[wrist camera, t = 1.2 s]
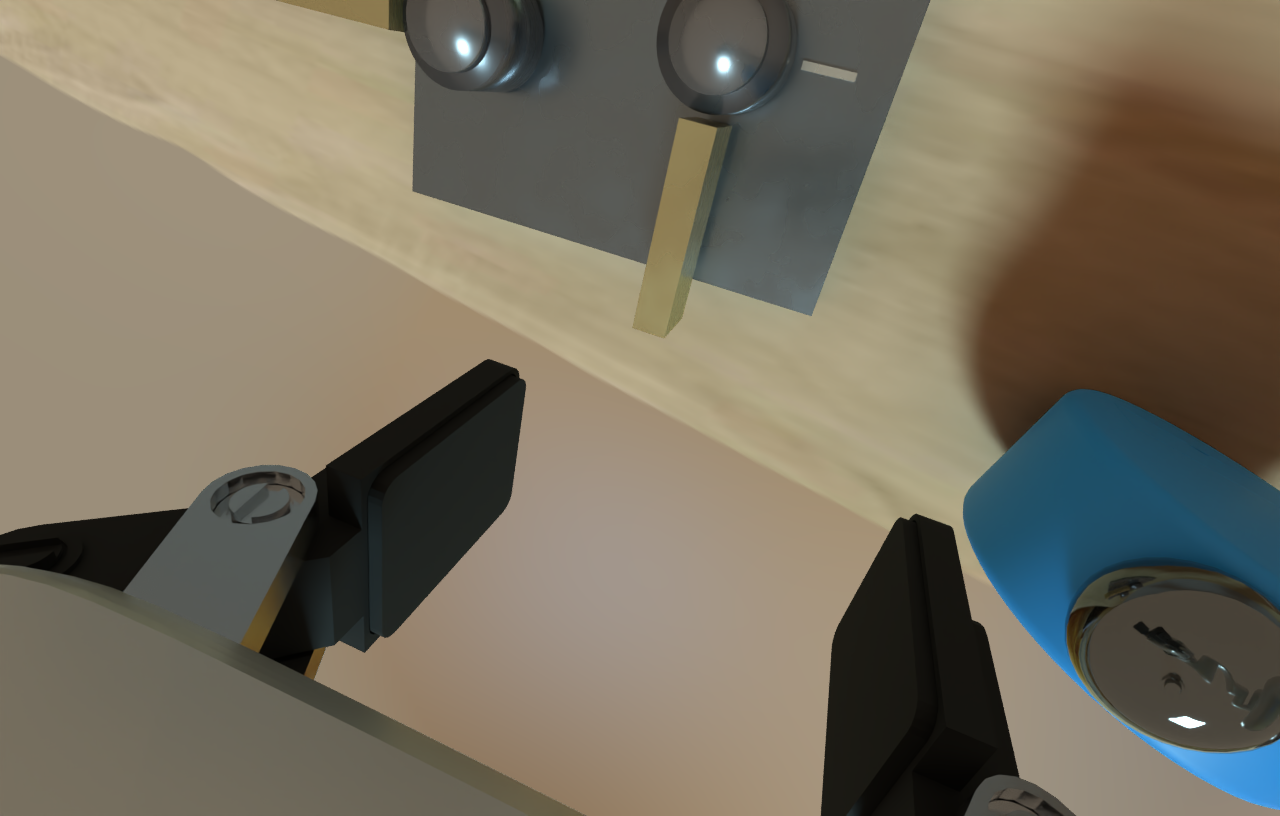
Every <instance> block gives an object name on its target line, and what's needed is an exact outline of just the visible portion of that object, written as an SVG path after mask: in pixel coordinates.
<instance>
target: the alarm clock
mask: <svg viewBox="0 0 1280 816" xmlns="http://www.w3.org/2000/svg"><path fill="white" fill-rule="evenodd" d="M963 519H964V525H965V529H966V532H967V536H968V538H969V541H970V543H971V546H972V548H973V550H974V552H975V554H976V556H977V558H978V560H979V562H980V565H981V566H982V568H983V570H984V571H985V573H986V575H987V577H988V578H989V580H990V581H991V583H992V584H993V586H994V588H995V589H996V591H997V592H998V594H999V595H1000V596H1001V598H1002V599H1003V601H1004V602H1005V603H1006V605H1007V606H1008V607H1009V609H1010V610H1011V611H1012V613H1013V614H1014V615H1015V616H1016V618H1017V619H1018V620H1019V622H1020V623H1021V624H1022V625H1023V627H1024V628H1025V629H1026V630H1027V631H1028V632H1029V634H1030V635H1031V636H1032V637H1033V638H1034V639H1035V641H1036V642H1037V643H1038V644H1039V645H1040V646H1041V647H1042V648H1043V649H1044V651H1046V653H1047V654H1048V655H1049V656H1050V657H1051V658H1052V659H1053V660H1054V661H1055V662H1056V663H1057V664H1058V665H1059V666H1060V667H1061V668H1062V670H1063V671H1065V672H1066V674H1067V675H1068V676H1069V677H1070V678H1071V679H1073V680H1074V681H1075V682H1076V683H1077V684H1078V685H1079V686H1080V687H1081V688H1082V689H1083V690H1084V691H1085V692H1086V693H1087V694H1088V695H1089V696H1090V697H1092V698H1093V699H1094V700H1095V701H1096V702H1097V703H1098V704H1100V705H1101V706H1102V707H1103V708H1104V709H1105V710H1106V711H1107V712H1108V713H1110V714H1111V715H1112V716H1113V717H1115V718H1116V719H1117V720H1118V721H1119V722H1121V723H1122V724H1123V725H1124V726H1126V727H1127V728H1128V729H1129V730H1130V731H1132V732H1133V733H1135V734H1136V735H1137V736H1138V737H1140V738H1141V739H1142V740H1144V741H1145V742H1146V743H1148V744H1149V745H1150V746H1152V747H1153V748H1155V749H1156V750H1157V751H1159V752H1160V753H1161V754H1163V755H1164V756H1166V757H1167V758H1169V759H1170V760H1172V761H1173V762H1175V763H1176V764H1178V765H1179V766H1181V767H1183V768H1184V769H1186V770H1187V771H1189V772H1191V773H1192V774H1194V775H1195V776H1197V777H1199V778H1201V779H1202V780H1204V781H1206V782H1208V783H1210V784H1211V785H1213V786H1215V787H1217V788H1219V789H1221V790H1223V791H1225V792H1227V793H1229V794H1231V795H1233V796H1236V797H1238V798H1240V799H1243V800H1245V801H1248V802H1250V803H1254V804H1257V805H1261V806H1264V807H1268V808H1272V809H1278V810H1280V491H1279V490H1277V489H1276V488H1275V487H1273V486H1272V485H1270V484H1269V483H1267V482H1266V481H1264V480H1263V479H1261V478H1260V477H1258V476H1257V475H1255V474H1253V473H1252V472H1250V471H1249V470H1247V469H1246V468H1244V467H1243V466H1241V465H1240V464H1238V463H1236V462H1235V461H1233V460H1232V459H1230V458H1228V457H1227V456H1225V455H1224V454H1222V453H1220V452H1219V451H1217V450H1216V449H1214V448H1212V447H1211V446H1209V445H1207V444H1206V443H1204V442H1202V441H1201V440H1199V439H1197V438H1196V437H1194V436H1192V435H1190V434H1189V433H1187V432H1185V431H1183V430H1182V429H1180V428H1178V427H1176V426H1174V425H1173V424H1171V423H1169V422H1167V421H1165V420H1163V419H1161V418H1160V417H1158V416H1156V415H1154V414H1152V413H1150V412H1148V411H1146V410H1144V409H1142V408H1140V407H1138V406H1136V405H1133V404H1131V403H1129V402H1127V401H1124V400H1122V399H1120V398H1117V397H1115V396H1112V395H1109V394H1106V393H1103V392H1100V391H1096V390H1088V389H1077V390H1073V391H1070V392H1068V393H1066V394H1065V395H1064V396H1063V397H1062V398H1061V399H1060V400H1059V401H1058V402H1057V403H1056V404H1055V405H1054V406H1052V407H1051V408H1050V409H1049V410H1048V411H1047V412H1046V413H1045V414H1044V415H1043V416H1042V417H1041V418H1040V419H1039V420H1038V421H1037V422H1036V423H1035V424H1034V425H1033V426H1032V427H1031V428H1030V429H1029V430H1028V431H1027V432H1026V433H1025V434H1024V435H1023V436H1022V437H1021V438H1020V439H1019V440H1018V441H1017V442H1016V443H1015V444H1014V445H1013V446H1012V447H1011V448H1010V449H1009V450H1008V451H1007V452H1006V453H1005V454H1004V455H1003V456H1002V457H1001V458H1000V459H999V460H998V461H997V462H996V463H995V464H994V465H993V466H992V467H991V468H989V469H988V470H987V471H986V472H985V473H984V474H983V475H982V476H981V477H980V478H979V479H978V480H977V481H976V482H975V483H974V484H973V485H972V486H971V487H970V489H969V490H968V492H967V494H966V496H965V499H964V503H963Z"/></svg>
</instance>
